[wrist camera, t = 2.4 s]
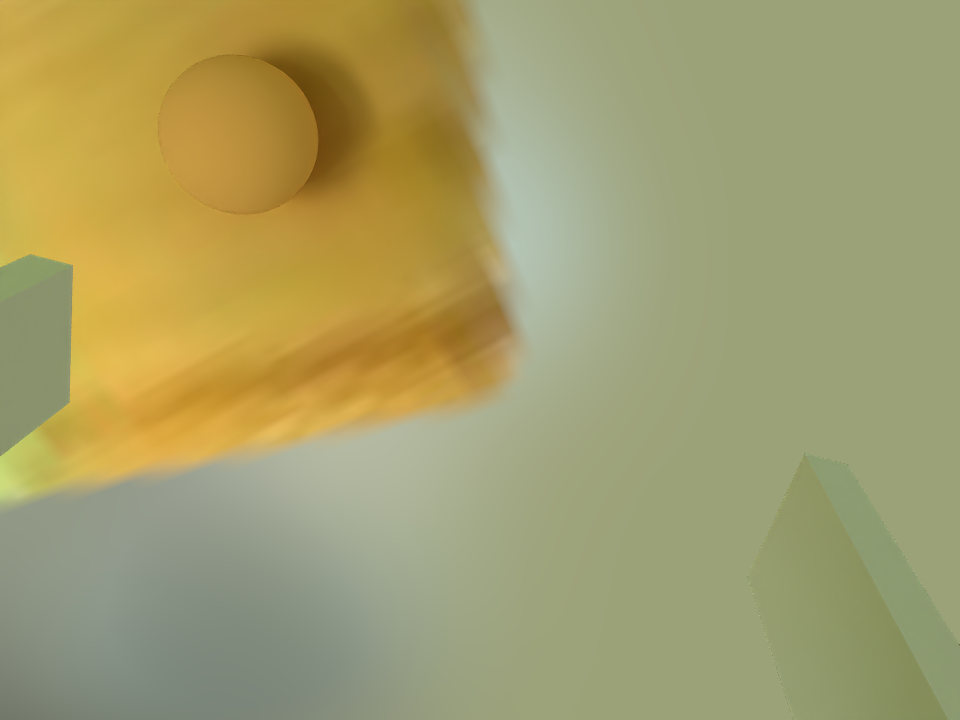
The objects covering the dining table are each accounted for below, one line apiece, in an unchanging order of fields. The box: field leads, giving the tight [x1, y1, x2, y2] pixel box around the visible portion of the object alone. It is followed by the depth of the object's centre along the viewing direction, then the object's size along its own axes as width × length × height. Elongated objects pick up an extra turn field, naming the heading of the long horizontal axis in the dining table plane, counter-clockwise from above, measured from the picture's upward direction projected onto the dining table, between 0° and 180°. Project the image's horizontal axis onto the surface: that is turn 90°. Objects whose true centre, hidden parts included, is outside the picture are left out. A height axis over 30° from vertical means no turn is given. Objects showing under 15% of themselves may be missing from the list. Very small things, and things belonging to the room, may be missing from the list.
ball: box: [158, 55, 319, 214], centre depth 29 cm, size 6×6×6 cm
